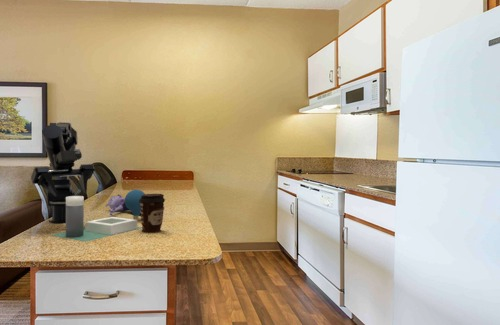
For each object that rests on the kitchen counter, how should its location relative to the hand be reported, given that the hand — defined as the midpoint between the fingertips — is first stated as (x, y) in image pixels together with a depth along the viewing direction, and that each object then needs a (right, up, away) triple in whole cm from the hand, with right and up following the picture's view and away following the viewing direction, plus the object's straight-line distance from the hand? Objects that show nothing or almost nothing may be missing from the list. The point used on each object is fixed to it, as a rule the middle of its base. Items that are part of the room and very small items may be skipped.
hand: (71, 194), depth 129 cm
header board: (+8, -13, +1) cm, 16 cm away
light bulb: (+13, -13, +26) cm, 32 cm away
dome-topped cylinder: (+4, -12, -6) cm, 14 cm away
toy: (+7, -12, +43) cm, 45 cm away
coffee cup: (+25, -14, +3) cm, 29 cm away
